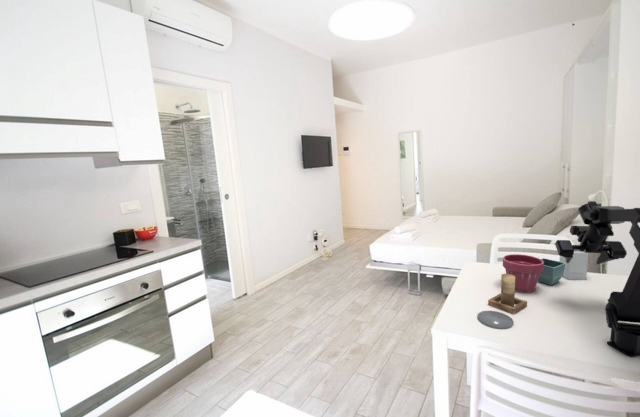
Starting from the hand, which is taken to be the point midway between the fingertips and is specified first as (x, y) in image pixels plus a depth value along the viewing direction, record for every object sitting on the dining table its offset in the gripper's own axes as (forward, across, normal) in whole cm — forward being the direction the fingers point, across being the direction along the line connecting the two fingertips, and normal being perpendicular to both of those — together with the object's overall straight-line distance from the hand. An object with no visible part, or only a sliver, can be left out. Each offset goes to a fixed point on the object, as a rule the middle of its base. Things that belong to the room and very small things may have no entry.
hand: (582, 262), depth 113 cm
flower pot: (+21, +6, -5) cm, 22 cm away
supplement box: (+26, -6, -12) cm, 29 cm away
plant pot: (+17, +17, +2) cm, 24 cm away
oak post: (+7, +26, +17) cm, 32 cm away
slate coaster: (0, +32, +27) cm, 42 cm away
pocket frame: (+7, +26, +17) cm, 32 cm away
